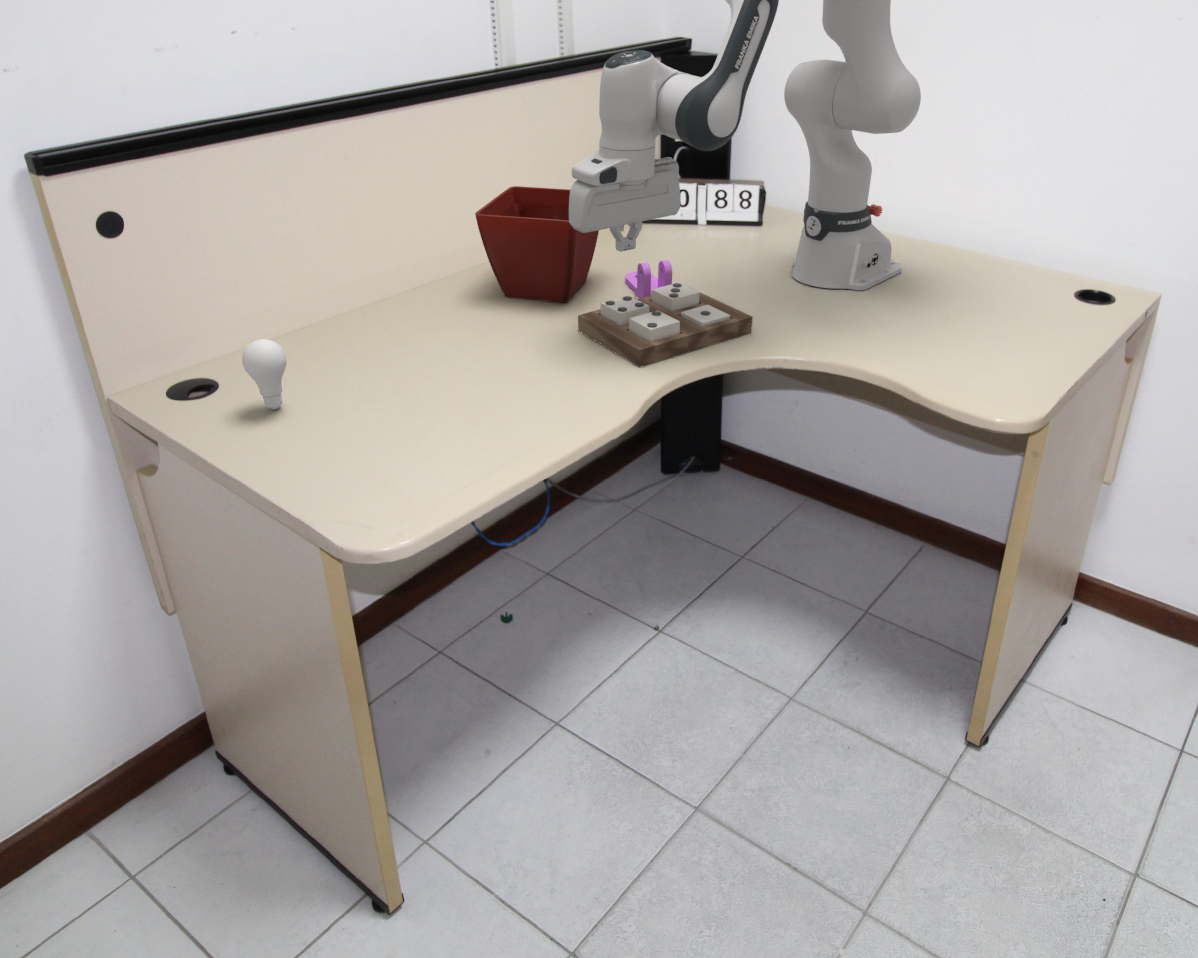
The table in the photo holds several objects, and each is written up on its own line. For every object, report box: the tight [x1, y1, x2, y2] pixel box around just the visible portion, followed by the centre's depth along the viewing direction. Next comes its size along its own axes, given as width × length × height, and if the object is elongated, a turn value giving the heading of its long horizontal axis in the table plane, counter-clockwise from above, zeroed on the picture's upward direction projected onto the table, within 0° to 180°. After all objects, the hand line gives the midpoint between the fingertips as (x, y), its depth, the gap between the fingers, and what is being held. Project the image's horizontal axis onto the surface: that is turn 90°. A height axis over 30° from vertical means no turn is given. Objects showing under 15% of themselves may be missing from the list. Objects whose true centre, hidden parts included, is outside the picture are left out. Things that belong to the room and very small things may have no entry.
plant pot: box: [474, 185, 600, 303], centre depth 180 cm, size 19×19×17 cm
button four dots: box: [600, 295, 649, 326], centre depth 165 cm, size 6×6×3 cm
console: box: [577, 286, 754, 368], centre depth 166 cm, size 24×18×3 cm
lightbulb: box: [241, 338, 288, 411], centre depth 140 cm, size 6×6×11 cm
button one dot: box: [681, 305, 730, 327], centre depth 165 cm, size 6×6×3 cm
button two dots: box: [629, 310, 680, 343], centre depth 159 cm, size 6×6×3 cm
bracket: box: [624, 259, 673, 299], centre depth 183 cm, size 13×6×7 cm, turn 17°
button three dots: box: [651, 282, 700, 312], centre depth 170 cm, size 6×6×3 cm
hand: (625, 249), depth 159 cm, fingers closed
